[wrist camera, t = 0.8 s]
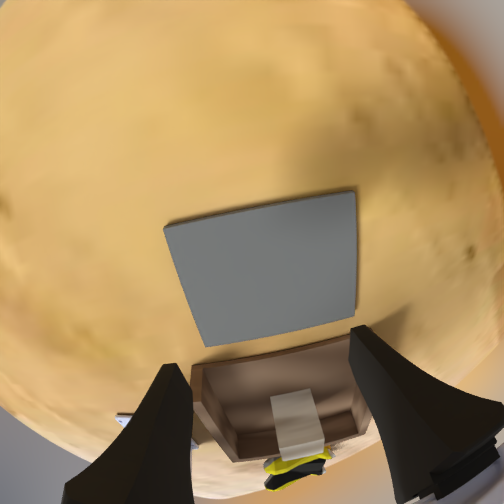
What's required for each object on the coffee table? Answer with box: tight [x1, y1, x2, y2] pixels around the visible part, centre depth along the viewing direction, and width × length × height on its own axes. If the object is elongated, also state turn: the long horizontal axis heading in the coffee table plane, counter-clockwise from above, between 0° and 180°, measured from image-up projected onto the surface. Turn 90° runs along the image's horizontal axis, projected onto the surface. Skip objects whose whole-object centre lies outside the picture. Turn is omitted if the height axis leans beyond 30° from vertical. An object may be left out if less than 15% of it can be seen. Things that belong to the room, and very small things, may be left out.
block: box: [270, 388, 325, 461], centre depth 22 cm, size 4×4×6 cm
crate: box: [190, 328, 373, 462], centre depth 23 cm, size 15×16×4 cm
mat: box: [163, 191, 357, 347], centre depth 18 cm, size 10×12×1 cm
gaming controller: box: [263, 445, 336, 492], centre depth 31 cm, size 15×6×10 cm
